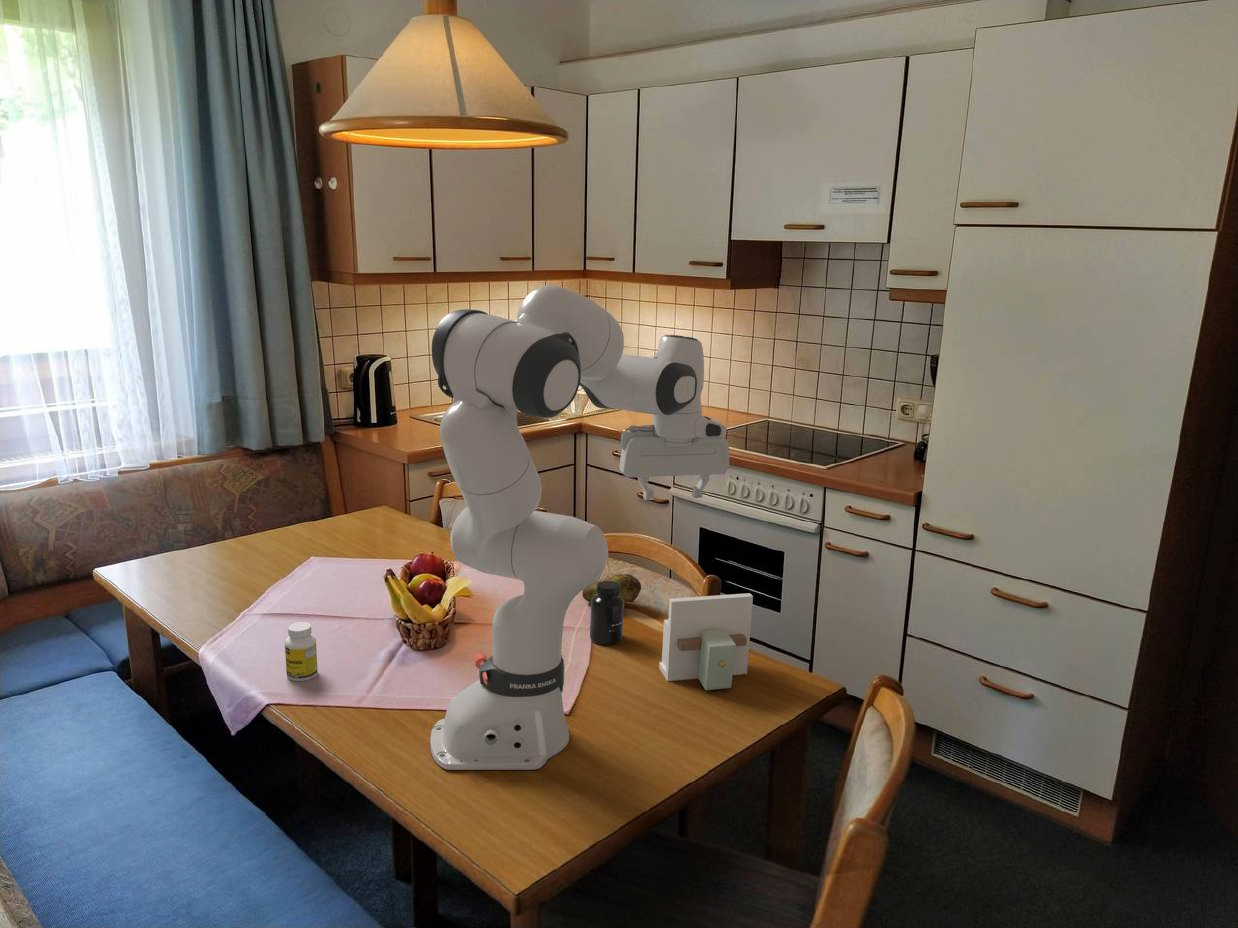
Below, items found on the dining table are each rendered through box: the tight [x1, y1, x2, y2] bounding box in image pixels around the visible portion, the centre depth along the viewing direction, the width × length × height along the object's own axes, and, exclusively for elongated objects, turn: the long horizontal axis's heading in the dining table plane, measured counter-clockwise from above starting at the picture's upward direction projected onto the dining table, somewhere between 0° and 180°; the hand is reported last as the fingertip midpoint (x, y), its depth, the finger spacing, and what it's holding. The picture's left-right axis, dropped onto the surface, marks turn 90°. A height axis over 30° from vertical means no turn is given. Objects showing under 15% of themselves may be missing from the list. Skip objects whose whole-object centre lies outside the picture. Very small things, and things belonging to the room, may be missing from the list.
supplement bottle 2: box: [589, 580, 625, 646], centre depth 183 cm, size 7×7×12 cm
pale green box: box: [697, 629, 736, 691], centre depth 165 cm, size 5×7×9 cm
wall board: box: [658, 592, 754, 682], centre depth 170 cm, size 16×8×16 cm, turn 105°
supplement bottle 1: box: [284, 621, 318, 682], centre depth 164 cm, size 5×5×10 cm
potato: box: [582, 573, 642, 604], centre depth 200 cm, size 8×13×8 cm, turn 54°
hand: (672, 498), depth 165 cm, fingers open, 8 cm apart
